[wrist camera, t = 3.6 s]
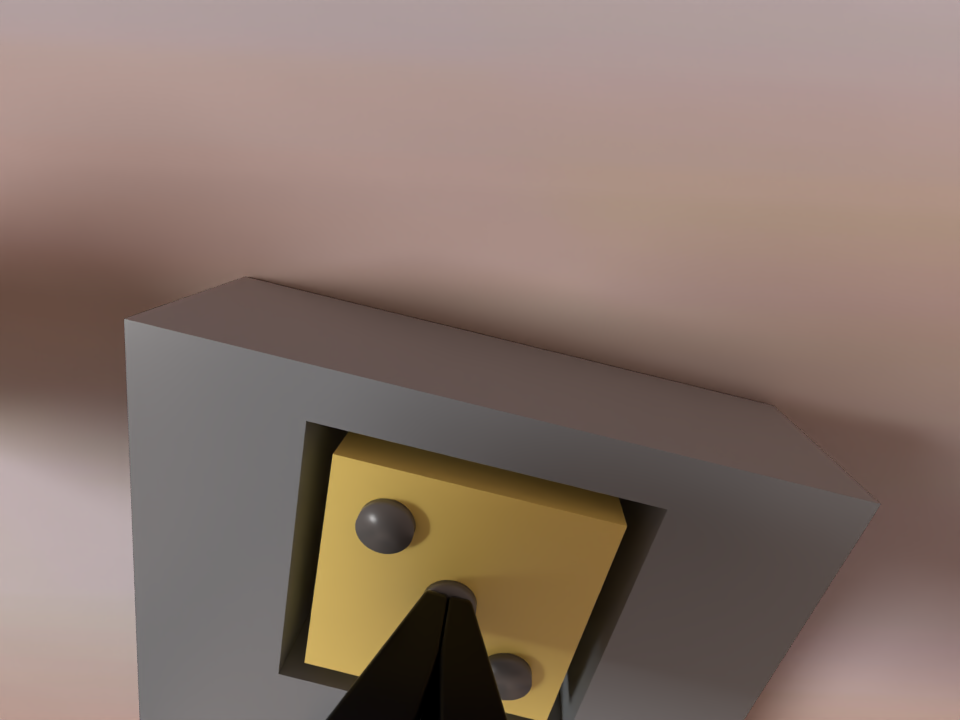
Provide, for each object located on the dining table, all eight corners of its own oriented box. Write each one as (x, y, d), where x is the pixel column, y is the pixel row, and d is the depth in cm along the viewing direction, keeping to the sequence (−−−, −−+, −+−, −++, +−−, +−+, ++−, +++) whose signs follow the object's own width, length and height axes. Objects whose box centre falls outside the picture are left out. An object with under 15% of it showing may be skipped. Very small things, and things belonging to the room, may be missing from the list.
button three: (542, 618, 12) (546, 732, 10) (346, 570, 12) (300, 671, 10) (604, 448, 10) (629, 534, 8) (376, 392, 10) (328, 460, 8)
